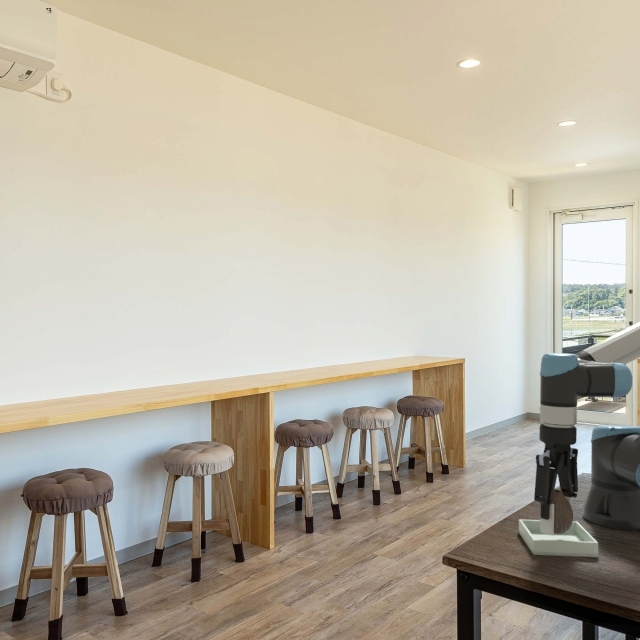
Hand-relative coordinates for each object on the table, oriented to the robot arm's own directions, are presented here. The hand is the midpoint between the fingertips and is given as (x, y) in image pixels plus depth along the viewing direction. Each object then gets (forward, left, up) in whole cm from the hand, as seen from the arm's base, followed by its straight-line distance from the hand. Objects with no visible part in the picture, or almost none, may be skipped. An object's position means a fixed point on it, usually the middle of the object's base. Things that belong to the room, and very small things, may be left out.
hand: (556, 529), depth 134 cm
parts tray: (0, 0, -3) cm, 3 cm away
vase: (0, 0, -1) cm, 1 cm away
